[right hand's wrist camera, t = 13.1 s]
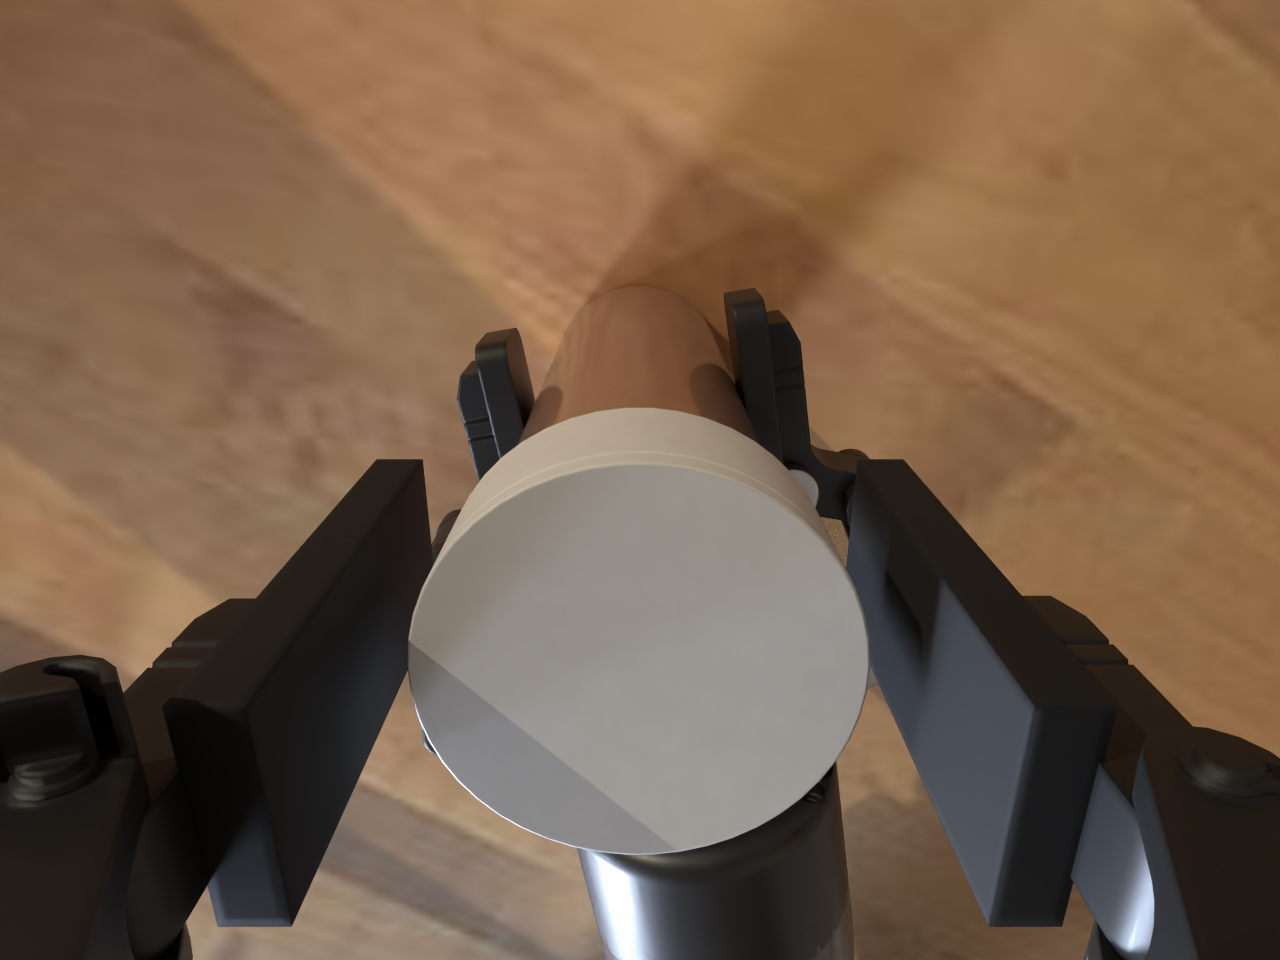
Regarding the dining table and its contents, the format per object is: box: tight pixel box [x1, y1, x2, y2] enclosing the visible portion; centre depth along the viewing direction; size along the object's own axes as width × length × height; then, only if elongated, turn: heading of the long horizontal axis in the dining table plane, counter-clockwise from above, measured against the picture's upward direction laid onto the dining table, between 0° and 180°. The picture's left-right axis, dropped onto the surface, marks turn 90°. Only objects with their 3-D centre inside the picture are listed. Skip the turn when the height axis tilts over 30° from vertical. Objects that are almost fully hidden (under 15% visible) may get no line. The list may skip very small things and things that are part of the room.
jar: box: [518, 286, 760, 445], centre depth 18 cm, size 5×5×16 cm
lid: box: [407, 408, 870, 854], centre depth 11 cm, size 6×6×2 cm
